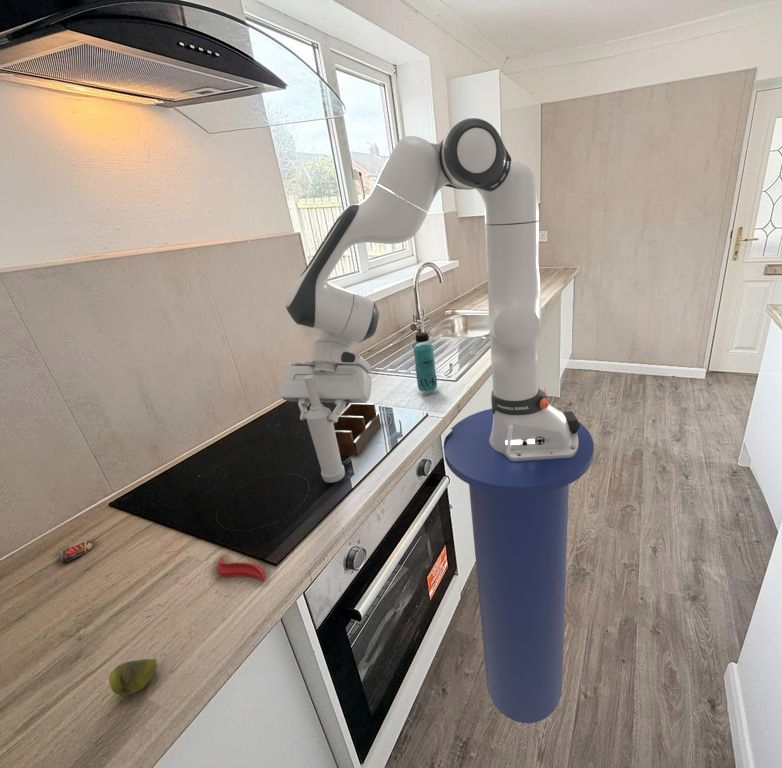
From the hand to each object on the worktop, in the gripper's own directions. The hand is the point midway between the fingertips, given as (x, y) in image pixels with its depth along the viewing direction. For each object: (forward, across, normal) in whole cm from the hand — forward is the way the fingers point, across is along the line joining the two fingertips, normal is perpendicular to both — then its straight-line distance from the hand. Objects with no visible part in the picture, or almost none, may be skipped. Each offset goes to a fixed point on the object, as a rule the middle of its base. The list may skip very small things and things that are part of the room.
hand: (318, 421), depth 88 cm
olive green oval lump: (+43, -6, -20) cm, 48 cm away
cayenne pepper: (+30, -5, -6) cm, 31 cm away
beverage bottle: (-23, +9, +46) cm, 52 cm away
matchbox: (+30, -42, -6) cm, 52 cm away
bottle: (+10, 0, +11) cm, 15 cm away
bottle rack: (-2, -3, +25) cm, 25 cm away
